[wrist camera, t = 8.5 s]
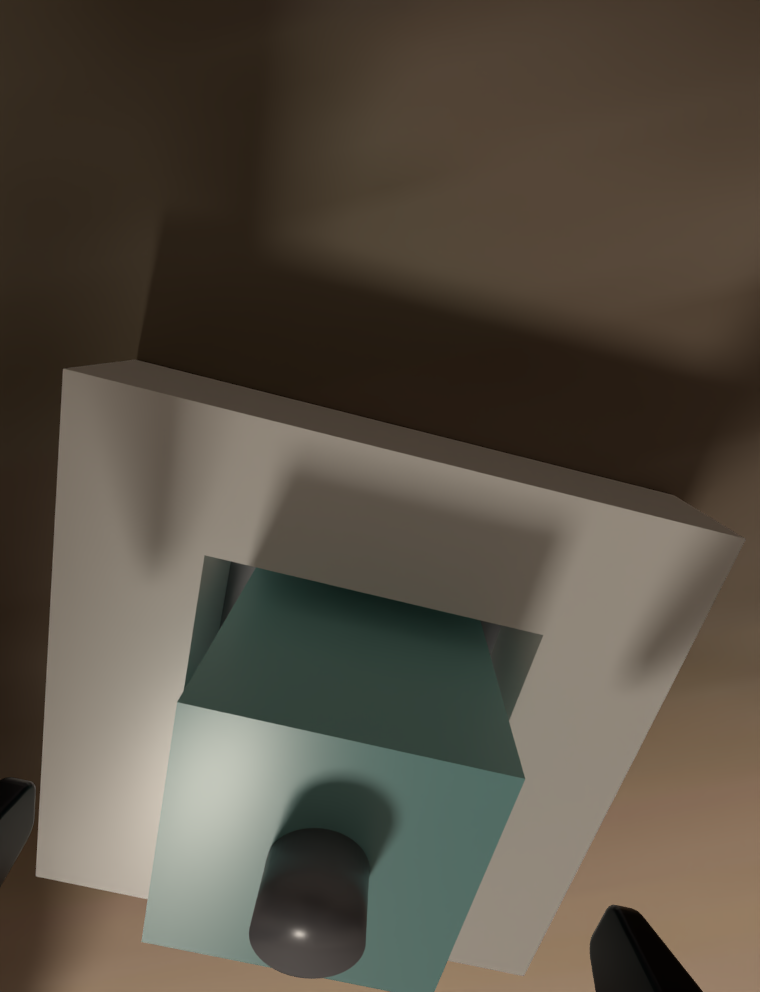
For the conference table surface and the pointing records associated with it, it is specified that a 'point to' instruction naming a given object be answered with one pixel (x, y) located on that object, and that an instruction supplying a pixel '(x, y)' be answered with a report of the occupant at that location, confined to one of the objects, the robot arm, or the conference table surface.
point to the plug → (332, 787)
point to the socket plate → (360, 567)
